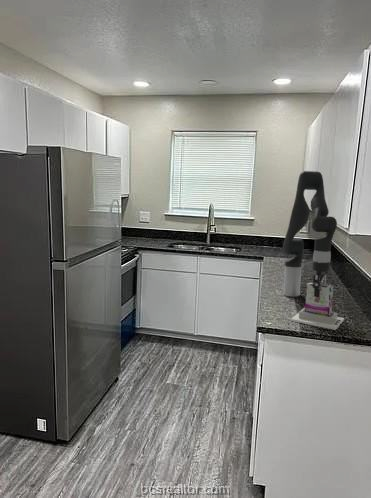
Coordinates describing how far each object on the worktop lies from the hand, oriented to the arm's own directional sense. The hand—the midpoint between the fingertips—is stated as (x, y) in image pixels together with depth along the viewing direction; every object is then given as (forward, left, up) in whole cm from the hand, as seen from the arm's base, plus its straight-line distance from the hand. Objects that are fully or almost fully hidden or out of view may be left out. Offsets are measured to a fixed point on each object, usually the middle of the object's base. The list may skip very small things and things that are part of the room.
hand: (319, 294), depth 172 cm
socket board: (0, 0, -12) cm, 12 cm away
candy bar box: (0, 0, -12) cm, 12 cm away
